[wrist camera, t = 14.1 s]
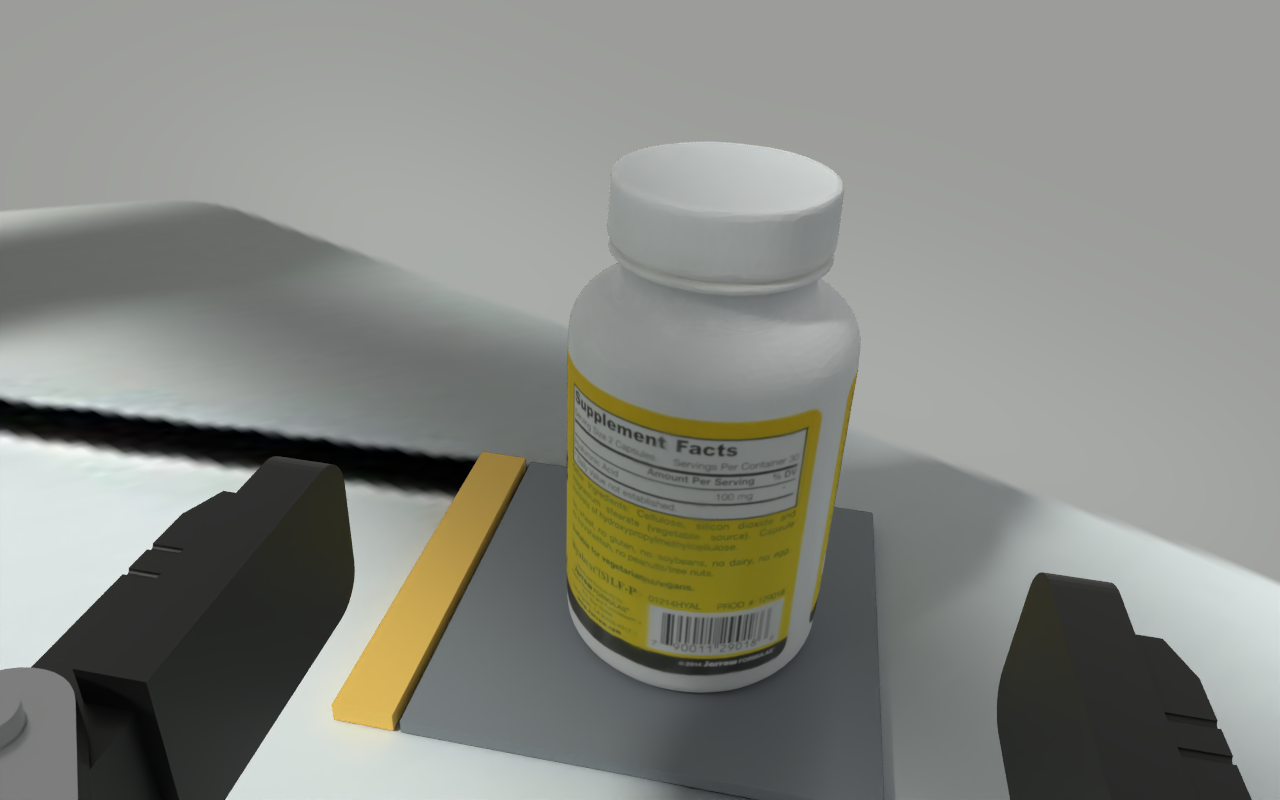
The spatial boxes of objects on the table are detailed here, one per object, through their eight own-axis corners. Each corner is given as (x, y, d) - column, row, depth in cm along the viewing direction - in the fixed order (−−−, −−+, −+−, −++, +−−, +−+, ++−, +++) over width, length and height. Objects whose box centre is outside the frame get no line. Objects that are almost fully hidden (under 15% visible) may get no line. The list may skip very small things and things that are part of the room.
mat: (333, 719, 19) (331, 704, 19) (482, 463, 26) (482, 451, 26) (880, 823, 17) (885, 808, 17) (870, 521, 25) (873, 509, 25)
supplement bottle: (672, 504, 25) (706, 114, 20) (857, 609, 22) (952, 180, 17) (510, 607, 21) (504, 163, 16) (706, 750, 18) (770, 257, 13)
